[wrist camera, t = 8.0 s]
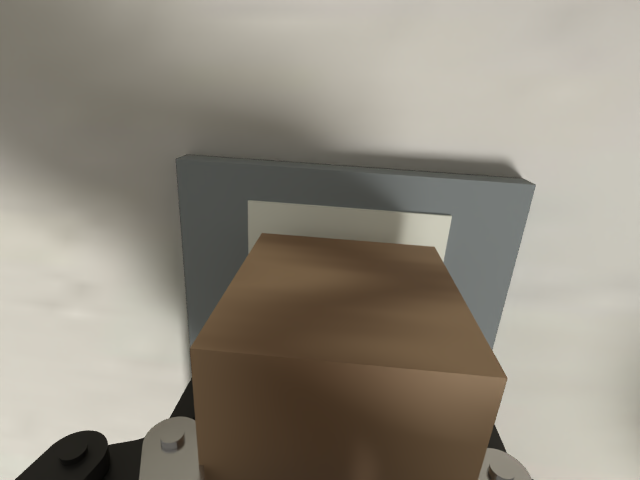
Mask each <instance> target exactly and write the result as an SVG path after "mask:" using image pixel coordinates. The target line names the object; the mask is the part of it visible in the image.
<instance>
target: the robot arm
mask: <svg viewBox="0 0 640 480" xmlns="http://www.w3.org/2000/svg"><path fill="white" fill-rule="evenodd" d="M15 480H205V474H204V465H199V462H198V449H197V436H196V423H195V409H194V396H193V383H192V378H191V381H190V382H189V384H188V385H187V387H186V389H185V391H184V393H183V395H182V396H181V398H180V400H179V402H178V404H177V405H176V407H175V409H174V411H173V413H172V415H171V416H170V418H168V419H166V420H163V421H161V422H159V423H158V424H156V425H155V426H154V427H153V428H151V429H150V431H149V432H148V433H147V434H146V436H145V437H144V438H142V439H138V440H134V441H128V442H123V443H117V444H111V445H108V443H107V439H106V437H105V436H104V435H103V434H101V433H99V432H97V431H80V432H76V433H73V434H70V435H68V436H66V437H64V438H62V439H60V440H59V441H57V442H56V443H55V444H53V445H52V446H51V447H50V448H49V449H48V450H47V451H45V452H44V453H43V454H42V455H41V456H40V457H39V458H38V459H37V460H36V461H35V462H34V463H32V464H31V465H30V466H29V467H28V468H27V469H26V470H25V471H24V472H23V473H22V474H21V475H19V476H18V477H17V478H16V479H15ZM478 480H533V479H531V477H530V475H529V473H528V471H527V470H526V468H525V467H524V466H523V465H522V464H521V463H520V462H519V461H518V460H517V459H515V458H514V457H513V456H511V455H509V454H508V453H507V452H506V450H505V447H504V445H503V443H502V441H501V438H500V436H499V434H498V431H497V429H496V427H495V425H494V426H493V430H492V433H491V437H490V440H489V444H488V447H487V450H486V454H485V457H484V461H483V464H482V468H481V471H480V474H479V478H478Z"/></svg>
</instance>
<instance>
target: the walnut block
mask: <svg viewBox="0 0 640 480" xmlns="http://www.w3.org/2000/svg"><path fill="white" fill-rule="evenodd" d="M190 357H191V370H192V383H193V396H194V409H195V423H196V436H197V449H198V462H199V465H204V474H205V480H478V478H479V474H480V471H481V468H482V464H483V461H484V457H485V454H486V450H487V447H488V444H489V440H490V437H491V433H492V430H493V426H494V423H495V420H496V416H497V413H498V409H499V406H500V402H501V399H502V395H503V392H504V389H505V385H506V382H507V376H506V375H505V373H504V371H503V369H502V367H501V366H500V364H499V362H498V360H497V358H496V357H495V355H494V353H493V351H492V349H491V348H490V346H489V344H488V342H487V340H486V339H485V337H484V335H483V333H482V331H481V330H480V328H479V326H478V324H477V322H476V320H475V319H474V317H473V315H472V313H471V311H470V310H469V308H468V306H467V304H466V302H465V301H464V299H463V297H462V295H461V293H460V292H459V290H458V288H457V286H456V284H455V283H454V281H453V279H452V277H451V275H450V274H449V272H448V270H447V268H446V266H445V265H444V263H443V261H442V259H441V257H440V256H439V254H438V252H437V250H436V248H435V247H432V246H420V245H407V244H395V243H382V242H370V241H357V240H345V239H332V238H320V237H307V236H295V235H282V234H269V233H261V235H260V237H259V238H258V240H257V241H256V243H255V245H254V246H253V248H252V249H251V251H250V253H249V254H248V256H247V257H246V259H245V261H244V262H243V264H242V265H241V267H240V269H239V270H238V272H237V273H236V275H235V277H234V278H233V280H232V281H231V283H230V285H229V286H228V288H227V290H226V291H225V293H224V294H223V296H222V298H221V299H220V301H219V302H218V304H217V306H216V307H215V309H214V310H213V312H212V314H211V315H210V317H209V318H208V320H207V322H206V323H205V325H204V326H203V328H202V330H201V331H200V333H199V334H198V336H197V338H196V339H195V341H194V342H193V344H192V346H191V347H190Z"/></svg>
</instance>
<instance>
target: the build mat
mask: <svg viewBox="0 0 640 480" xmlns="http://www.w3.org/2000/svg"><path fill="white" fill-rule="evenodd" d="M176 169H177V182H178V196H179V209H180V222H181V235H182V248H183V261H184V274H185V287H186V300H187V313H188V326H189V339H190V347H191V346H192V344H193V342H194V341H195V339H196V338H197V336H198V334H199V333H200V331H201V330H202V328H203V326H204V325H205V323H206V322H207V320H208V318H209V317H210V315H211V314H212V312H213V310H214V309H215V307H216V306H217V304H218V302H219V301H220V299H221V298H222V296H223V294H224V293H225V291H226V290H227V288H228V286H229V285H230V283H231V281H232V280H233V278H234V277H235V275H236V273H237V272H238V270H239V269H240V267H241V265H242V264H243V262H244V261H245V259H246V257H247V256H248V254H249V253H250V251H251V249H252V248H253V246H254V245H255V243H256V241H257V240H258V238H259V237H260V235H261V233H269V234H282V235H295V236H307V237H320V238H332V239H345V240H357V241H370V242H382V243H395V244H407V245H420V246H432V247H435V248H436V250H437V252H438V254H439V256H440V257H441V259H442V261H443V263H444V265H445V266H446V268H447V270H448V272H449V274H450V275H451V277H452V279H453V281H454V283H455V284H456V286H457V288H458V290H459V292H460V293H461V295H462V297H463V299H464V301H465V302H466V304H467V306H468V308H469V310H470V311H471V313H472V315H473V317H474V319H475V320H476V322H477V324H478V326H479V328H480V330H481V331H482V333H483V335H484V337H485V339H486V340H487V342H488V344H489V346H490V348H491V349H493V345H494V341H495V338H496V334H497V330H498V326H499V322H500V319H501V315H502V311H503V307H504V304H505V300H506V296H507V292H508V288H509V285H510V281H511V277H512V273H513V269H514V266H515V262H516V258H517V254H518V250H519V247H520V243H521V239H522V235H523V232H524V228H525V224H526V220H527V216H528V213H529V209H530V205H531V201H532V197H533V194H534V190H535V186H536V185H535V184H533V183H531V182H529V181H527V180H525V179H523V178H509V177H495V176H481V175H467V174H453V173H439V172H425V171H410V170H396V169H382V168H368V167H354V166H340V165H326V164H312V163H298V162H283V161H269V160H255V159H241V158H227V157H213V156H199V155H185V156H182V157H180V158H177V159H176Z"/></svg>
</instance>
